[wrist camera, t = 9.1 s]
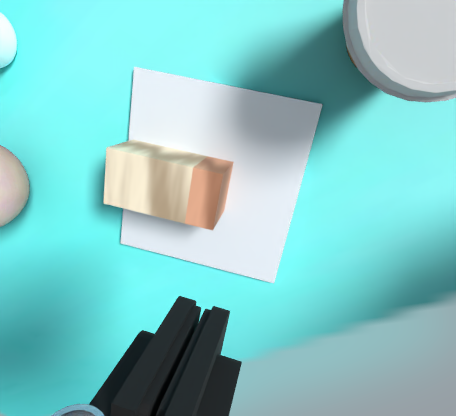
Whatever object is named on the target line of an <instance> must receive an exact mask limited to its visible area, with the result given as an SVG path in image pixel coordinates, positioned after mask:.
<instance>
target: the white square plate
mask: <svg viewBox="0 0 456 416" xmlns="http://www.w3.org/2000/svg"><path fill="white" fill-rule="evenodd" d="M322 105H323V104H319V103H314V102H309V101H304V100H299V99H294V98H289V97H284V96H279V95H274V94H269V93H264V92H259V91H254V90H249V89H244V88H239V87H234V86H229V85H224V84H219V83H214V82H208V81H203V80H198V79H193V78H188V77H183V76H178V75H173V74H168V73H163V72H158V71H153V70H148V69H143V68H138V67H134V75H133V88H132V101H131V114H130V127H129V140H128V141H130V140H137V141H142V142H146V143H151V144H155V145H160V146H164V147H169V148H173V149H178V150H182V151H187V152H191V153H196V154H200V155H204V156H209V157H213V158H218V159H222V160H227V161H231V162H234V163H233V168H232V173H231V178H230V183H229V189H228V194H227V199H226V204H225V209H224V212H223V214H222V216H221V217H220V219H219V221H218V223H217V224H216V226H215V228H214V229H213V230H209V229H205V228H201V227H197V226H193V225H189V224H185V223H181V222H176V221H172V220H168V219H164V218H160V217H156V216H152V215H148V214H144V213H140V212H136V211H132V210H128V209H124V208H123V218H122V231H121V244H125V245H129V246H133V247H137V248H141V249H144V250H148V251H152V252H156V253H160V254H164V255H167V256H171V257H175V258H179V259H183V260H187V261H190V262H194V263H198V264H202V265H206V266H210V267H213V268H217V269H221V270H225V271H229V272H233V273H236V274H240V275H244V276H248V277H252V278H256V279H259V280H263V281H267V282H271V283H274V281H275V278H276V274H277V270H278V267H279V263H280V259H281V256H282V252H283V248H284V245H285V241H286V237H287V234H288V230H289V226H290V223H291V219H292V215H293V212H294V208H295V204H296V201H297V197H298V193H299V190H300V186H301V182H302V179H303V175H304V171H305V168H306V164H307V160H308V157H309V153H310V149H311V146H312V142H313V138H314V135H315V131H316V127H317V124H318V120H319V116H320V112H321V109H322Z"/></svg>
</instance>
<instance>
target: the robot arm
mask: <svg viewBox="0 0 456 416" xmlns="http://www.w3.org/2000/svg"><path fill="white" fill-rule="evenodd" d="M200 312H201V307H198V306H196V301H195V300H192V299H188V298H185V297H181V296H179V297H178V298H177V300H176V301H175V303H174V305H173V306H172V308H171V309H170V311H169V312H168V314H167V316H166V317H165V319H164V320H163V322H162V324H161V325H160V327H159V328H158V330H157V332H156V333H155V334H153V333H150V332H147V331H144V330H142V331H141V332H140V333H139V334H138V335H137V337H136V338H135V339H134V341H133V342H132V344H131V345H130V347H129V348H128V349H127V351H126V352H125V354H124V355H123V357H122V358H121V359H120V361H119V362H118V364H117V365H116V367H115V368H114V369H113V371H112V372H111V374H110V375H109V377H108V378H107V379H106V381H105V382H104V384H103V385H102V387H101V388H100V390H99V391H98V392H97V394H96V395H95V397H94V398H93V400H92V401H91V402H90V404H89V405H88V404H76V405H71V406H67V407H65V408H63V409H61V410H59V411H57V412H56V413H54V414H53V415H52V416H229V412H230V408H231V404H232V400H233V395H234V392H235V387H236V384H237V379H238V375H239V371H240V367H241V363H242V362H241V361H237V360H234V359H231V358H228V357H225V356H222V355H220V354H221V350H222V346H223V341H224V337H225V332H226V328H227V323H228V319H229V314H230V311H228V310H225V309H222V308H218V307H215V306H213V308H212V310H208V309H205V311H204V313H203V315H202V317H201V319H200V321H199V317H200Z"/></svg>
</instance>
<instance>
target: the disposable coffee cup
mask: <svg viewBox="0 0 456 416" xmlns="http://www.w3.org/2000/svg"><path fill="white" fill-rule="evenodd" d="M343 30H344V35H345V40H346V47H347V52H348V55H349V57H350V59H351V61H352V63H353V64H354V65H355V66H356V67H357V68H358V70H359V71H360V72H361V73H362V74H363V75H364V76H365V77H366V79H367V80H368V81H369V82H371V83H372V84H373V85H375V86H376V87H377V88H379V89H380V90H382V91H383V92H385V93H387V94H390V95H393V96H396V97H399V98H402V99H405V100H408V101H418V102H435V101H446V100H449V99H453V98H456V0H344V3H343Z"/></svg>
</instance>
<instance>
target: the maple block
mask: <svg viewBox="0 0 456 416" xmlns="http://www.w3.org/2000/svg"><path fill="white" fill-rule="evenodd" d="M233 163H234V162H231V161H227V160H222V159H218V158H213V157H209V156H204V155H200V154H196V153H191V152H187V151H182V150H178V149H173V148H169V147H164V146H160V145H155V144H151V143H146V142H142V141H137V140H130V141H127V142H124V143H120V144H117V145H114V146H110V147H107V148H106V167H105V186H104V204H108V205H112V206H116V207H120V208H124V209H128V210H132V211H136V212H140V213H144V214H148V215H152V216H156V217H160V218H164V219H168V220H172V221H176V222H181V223H185V224H189V225H193V226H197V227H201V228H205V229H209V230H213V229H214V228H215V226H216V224H217V223H218V221H219V219H220V217H221V216H222V214H223V212H224V209H225V204H226V199H227V194H228V189H229V183H230V178H231V173H232V168H233Z"/></svg>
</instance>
